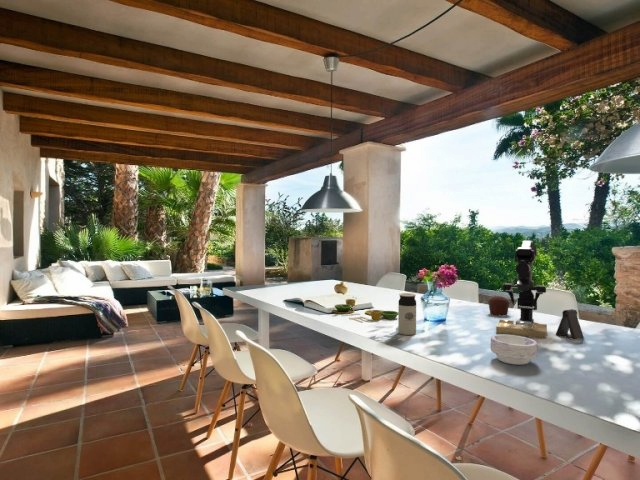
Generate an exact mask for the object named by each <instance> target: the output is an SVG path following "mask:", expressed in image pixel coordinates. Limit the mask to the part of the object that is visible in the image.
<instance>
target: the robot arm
mask: <svg viewBox="0 0 640 480" xmlns="http://www.w3.org/2000/svg"><path fill="white" fill-rule="evenodd" d="M536 257H538V246H537V245H535V244H534V241H532V240H522V241H521V244H520V245H519V246H518V247H517V249H515V256H514V262H515V263H517V265H516V266H515V271H516V273H517V281H516V285H514V284H513V283H507V282H506V283H503V285H502V290H503V291H505V292H506V293H508V296H509V297H510V300H511V303H512V305H513V306H514V305H515V298H514V296H515V295H514V290H518V291H519V293H518V296H517V302H516V303H517V309H518V310H520V318H519V319H518V320H521V321H531V323H534V321H535V319H534V318H533V315H534V314H533V313H534V311H537V310H538V299H539V298H540V295H544V294H545V293H546V292H547V286H546V285H538V284H537V285H536V286H534V280H532V275H533V273H532V271H533V263H534V262H535V261H536ZM533 291H535V294H534V293H533Z"/></svg>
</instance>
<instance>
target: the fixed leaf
mask: <svg viewBox="0 0 640 480" xmlns="http://www.w3.org/2000/svg"><path fill="white" fill-rule="evenodd" d="M547 325H548V324H546V323H536V322H531V326H526V325H517V324H516V323H514V320H507V319H499V321H498V323H497V325H496V326H495V328H496V330H495V333H496V334H500V335H515V336H521V337H526V338H536V339H546V338H547V332H548V328H547V327H548V326H547Z"/></svg>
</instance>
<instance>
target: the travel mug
mask: <svg viewBox="0 0 640 480" xmlns="http://www.w3.org/2000/svg"><path fill="white" fill-rule="evenodd" d="M416 295H417V294H415V293H409V292H402V293H399V300H398V306H397V307H398V308H397V310H398V311H397V312H398V315H397V317H398V320H397V323H398V324H397V325H398V327H397V328H398V329H397V330H398V331H397V332H398V333H399V334H400V335H402V334H403V335H404V336H413V335H415V334H417V300H416Z"/></svg>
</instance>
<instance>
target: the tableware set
mask: <svg viewBox="0 0 640 480" xmlns="http://www.w3.org/2000/svg"><path fill="white" fill-rule="evenodd" d="M355 305H356V299H351V298H347V299H345V304H344V303H341V304H335V305H334V308H336V309H337V310H331V311H332V312H333V313H335V314H340V315H341V317H348V316H349V318H348V320H350V321H351V320H352V321H355V322H357V323H363V322H365V323H369V322H373V321H374V322H375V321H381V320H382V319H381V318H383V319H386V320H395V319H396V318H397V317H398V311H394V310H383V309H381V310H380V309H369V310H366V311H365V312H364V313H365V314H367V315H368V316H370V317H371V319H370V318H367V317H364V316H358V315H361V313H355V310H354V309H350V308H351V307H353V306H355ZM356 315H357V316H358V317H350V316H356Z"/></svg>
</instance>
